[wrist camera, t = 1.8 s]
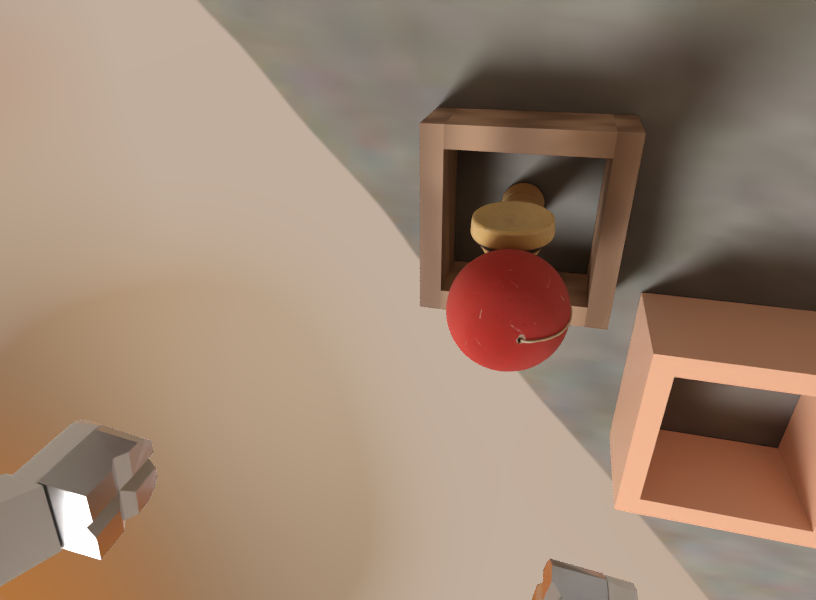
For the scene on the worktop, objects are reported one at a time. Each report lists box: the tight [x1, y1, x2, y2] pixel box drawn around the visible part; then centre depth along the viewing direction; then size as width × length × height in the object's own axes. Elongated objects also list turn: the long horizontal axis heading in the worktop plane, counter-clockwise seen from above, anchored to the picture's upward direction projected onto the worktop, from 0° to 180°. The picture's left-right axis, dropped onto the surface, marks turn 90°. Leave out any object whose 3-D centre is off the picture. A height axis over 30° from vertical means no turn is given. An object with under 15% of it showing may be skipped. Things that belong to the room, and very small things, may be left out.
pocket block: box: [420, 107, 646, 330], centre depth 38 cm, size 13×13×5 cm
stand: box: [610, 292, 816, 548], centre depth 39 cm, size 14×14×8 cm
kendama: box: [446, 183, 573, 371], centre depth 33 cm, size 8×6×18 cm
